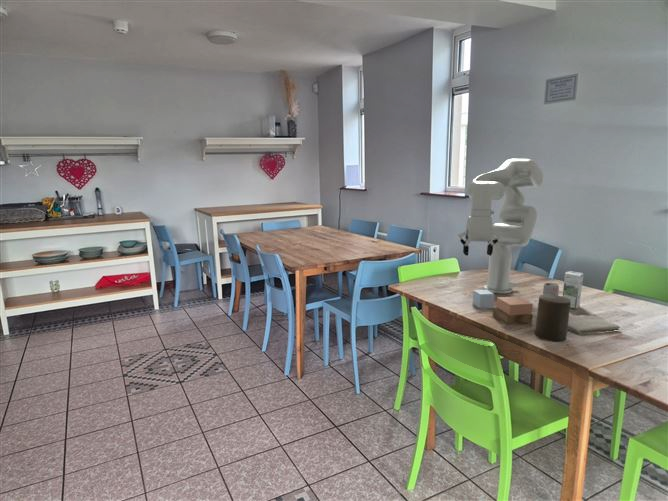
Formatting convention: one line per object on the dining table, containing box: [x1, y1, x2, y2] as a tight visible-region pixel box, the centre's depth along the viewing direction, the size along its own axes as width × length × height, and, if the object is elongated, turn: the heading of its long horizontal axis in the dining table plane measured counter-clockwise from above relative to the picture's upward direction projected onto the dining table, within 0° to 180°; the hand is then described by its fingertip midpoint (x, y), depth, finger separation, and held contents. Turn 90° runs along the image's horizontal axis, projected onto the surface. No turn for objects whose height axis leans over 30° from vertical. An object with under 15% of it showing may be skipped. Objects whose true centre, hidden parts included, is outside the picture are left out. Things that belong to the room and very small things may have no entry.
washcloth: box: [567, 314, 621, 335], centre depth 154 cm, size 12×18×3 cm, turn 102°
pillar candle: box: [534, 293, 571, 343], centre depth 145 cm, size 10×10×15 cm
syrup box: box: [561, 270, 584, 310], centre depth 176 cm, size 6×6×14 cm
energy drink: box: [542, 282, 560, 296], centre depth 167 cm, size 5×5×12 cm
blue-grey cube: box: [472, 289, 495, 309], centre depth 177 cm, size 6×6×6 cm
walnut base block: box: [492, 306, 533, 326], centre depth 162 cm, size 10×10×4 cm
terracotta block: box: [495, 295, 534, 315], centre depth 161 cm, size 9×9×4 cm
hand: (477, 254), depth 175 cm, fingers open, 9 cm apart
